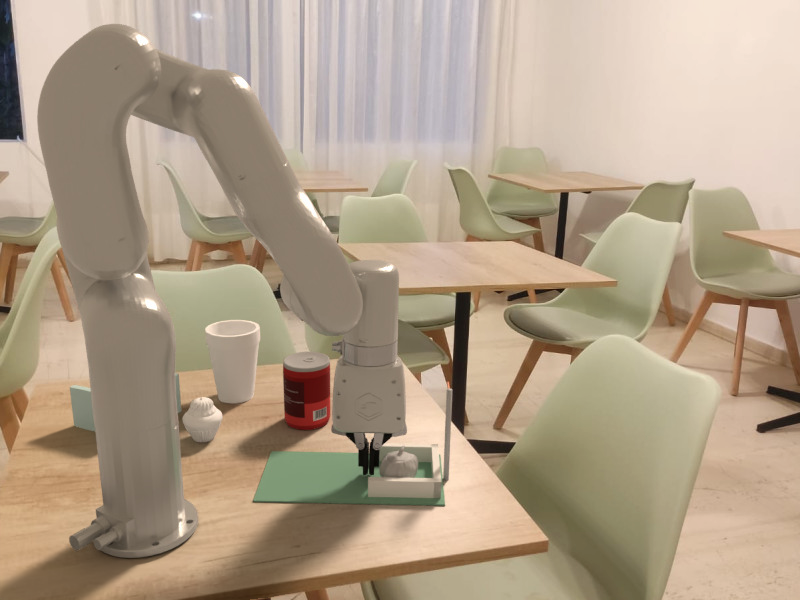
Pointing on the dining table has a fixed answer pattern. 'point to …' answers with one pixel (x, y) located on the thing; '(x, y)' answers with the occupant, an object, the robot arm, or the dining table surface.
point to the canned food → (306, 390)
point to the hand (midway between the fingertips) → (368, 470)
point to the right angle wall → (84, 405)
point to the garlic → (399, 464)
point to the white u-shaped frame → (423, 454)
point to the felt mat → (328, 480)
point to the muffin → (202, 419)
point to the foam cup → (234, 358)
